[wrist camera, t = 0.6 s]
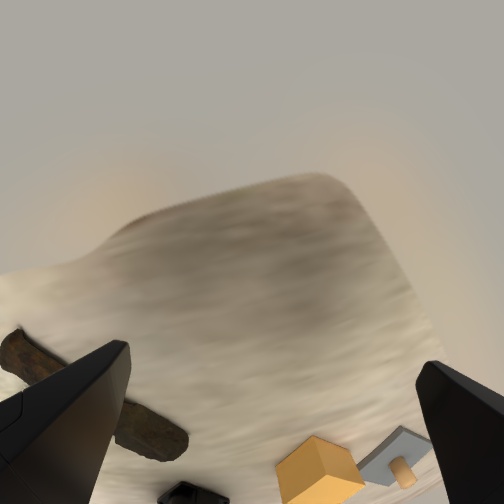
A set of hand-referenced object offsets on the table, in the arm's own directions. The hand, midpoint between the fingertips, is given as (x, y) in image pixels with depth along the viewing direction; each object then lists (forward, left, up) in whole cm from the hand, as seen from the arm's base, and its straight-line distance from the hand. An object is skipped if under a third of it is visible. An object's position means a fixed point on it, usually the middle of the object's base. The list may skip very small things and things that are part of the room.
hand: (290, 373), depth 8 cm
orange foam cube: (-13, -18, -14) cm, 26 cm away
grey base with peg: (-9, -28, -14) cm, 32 cm away
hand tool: (-17, +4, -15) cm, 23 cm away
